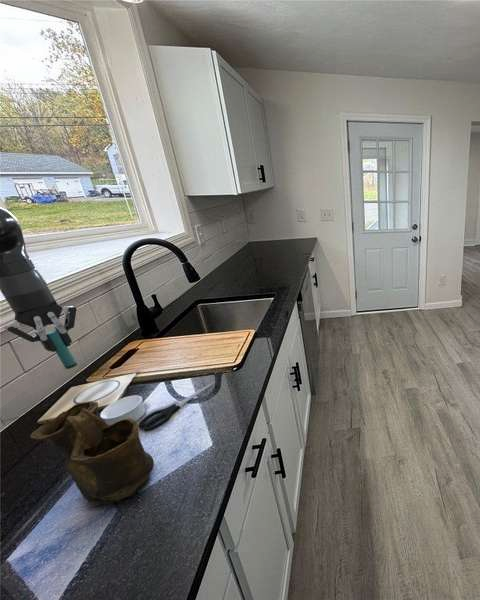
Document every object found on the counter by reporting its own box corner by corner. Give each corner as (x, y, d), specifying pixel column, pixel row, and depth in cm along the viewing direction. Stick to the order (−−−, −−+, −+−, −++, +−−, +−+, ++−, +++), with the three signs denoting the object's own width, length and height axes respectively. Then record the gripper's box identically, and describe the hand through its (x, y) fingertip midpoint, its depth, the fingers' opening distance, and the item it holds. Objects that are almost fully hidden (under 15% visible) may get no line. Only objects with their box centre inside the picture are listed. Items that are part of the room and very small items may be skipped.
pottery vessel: (184, 483, 66) (147, 410, 58) (126, 535, 57) (72, 458, 49) (120, 448, 76) (81, 382, 68) (62, 487, 67) (9, 417, 59)
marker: (63, 369, 86) (42, 335, 82) (69, 365, 88) (48, 331, 84) (74, 367, 87) (53, 333, 82) (79, 363, 89) (59, 329, 84)
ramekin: (104, 421, 85) (97, 408, 84) (143, 402, 91) (137, 390, 90) (110, 436, 80) (102, 423, 78) (151, 415, 86) (145, 403, 84)
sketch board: (38, 424, 86) (36, 421, 86) (73, 389, 100) (71, 386, 100) (116, 405, 91) (114, 402, 91) (138, 374, 105) (137, 372, 105)
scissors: (207, 380, 99) (135, 425, 83) (206, 378, 98) (134, 423, 82) (221, 385, 96) (149, 434, 80) (220, 383, 95) (147, 431, 79)
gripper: (56, 278, 85) (86, 333, 92) (-22, 298, 74) (19, 359, 81) (68, 281, 82) (98, 338, 89) (-12, 302, 71) (30, 365, 78)
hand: (60, 348), depth 85 cm, fingers closed on marker, 2 cm apart
